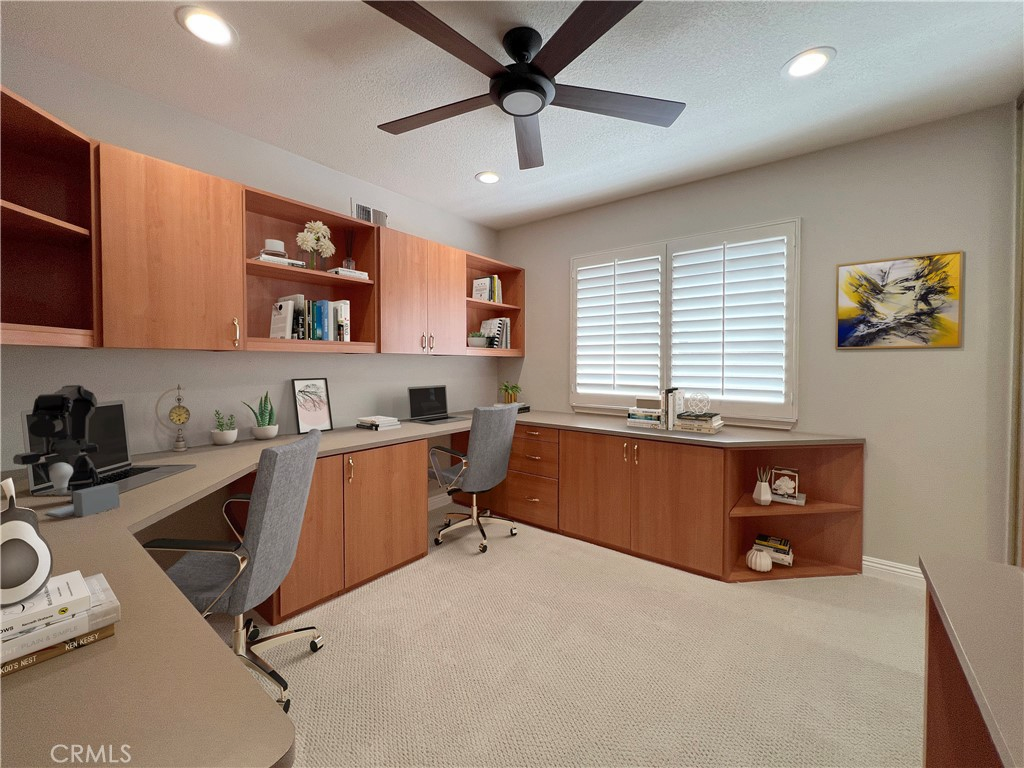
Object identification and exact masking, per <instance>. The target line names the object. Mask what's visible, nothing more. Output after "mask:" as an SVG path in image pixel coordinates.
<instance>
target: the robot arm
mask: <svg viewBox="0 0 1024 768" xmlns="http://www.w3.org/2000/svg"><path fill="white" fill-rule="evenodd" d="M97 406H98V400H97V397H96V395H95V394H94V392H93V391H90V390H88V389H86V388H85V387H84V386H83V385H81V384H74V385H73V384H72V385H70V384H69V385H64V386H62V387H61V388H60V389H58V390H57V391H55V392H54V393H46V394H39V395H38V396H37V397H36V398H35V399H34V403H33V407H32V412H31V418H37V419H36V420H34V421H33V422H31V424H30V425H29V427H28V430H29V433H30V434H31V435H32V436H33V437H36V438H41V440H43V443H44V444H43V445H44V448H42V452H40V453H38V452H34V451H30V452H25V453H24V452H22V453H17V454H15V455H14V456H13V458H12V459H13V460H12V461H13V464H14V465H22V466H26V465H31V466H33V467H34V468H35V469H36V470H37V471H38V473H39V474H40V476H42V478H43V479H44V481H45V482H46V483H49V482H50V477H49V472H48V468H49V463H50V462H49V461H46V459H49V458H55V457H60V458H68V459H67V461H64V462H63V463H68V464H70V465H71V466H72V468H73V473H72V475H71V477H70V478H69V481H68V486H67V488H68V487H70V498H71V499H68V500H66V503H70V504H73V491H78V490H82V489H86V488H91V487H94V484H96V483H99V482H100V476H99V473H98V470H97V469H96V468H95V465H94V462H93V461H92V460H91V459H90V458H89V454H92V453H97V452H100V451H99V449H100V448H99V445H97V444H96V443H93V442H89V428H90V427H89V426H90V425H89V424H90V422H89V420H90V418H91V417H92V416H93V415H94V413H95V412H96V407H97ZM68 416H69V417H70V419H71V422H70V423H71V424H70V426H71V427H70V429H69V419H68V418H69V417H68ZM69 430H70V431H69Z"/></svg>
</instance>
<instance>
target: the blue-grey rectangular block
mask: <svg viewBox="0 0 1024 768" xmlns="http://www.w3.org/2000/svg"><path fill="white" fill-rule="evenodd" d="M119 491H120V490H119V484H117V483H111V482H110V483H104V484H100V485H95V486H93V487H91V488H86V489H82V490H78V491H73V503H72V505H74V514H73V515H74V516H77V517H82V518H84V517H87V516H92V515H95V514H98V513H102V512H105V511H110V510H114V509H117V508H119V507H121V506H120V492H119Z"/></svg>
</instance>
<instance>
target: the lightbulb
mask: <svg viewBox="0 0 1024 768" xmlns="http://www.w3.org/2000/svg"><path fill="white" fill-rule="evenodd" d="M48 472H49V477H50V479H49V481H51V483H52V485H53V488H54V491H55V494H56V495H57V496H64V495H65V494H67V492H68V487H69V486H68V481H69V478H70V477H71V475H72V473H73V468H72V466H71V465H70V464H68V463H64V462H62V461H61V462H55V463H53V464H51V465H50V466H48ZM67 486H68V487H67Z"/></svg>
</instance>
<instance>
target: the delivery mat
mask: <svg viewBox="0 0 1024 768" xmlns="http://www.w3.org/2000/svg"><path fill="white" fill-rule="evenodd" d="M45 514H46V515H49V516H52V517H53V516H54V517H59V518H65V517H67V516H71V515H74V505H73V504H72V505H69V506H65V507H61V508H56V509H53V510H52V509H51V510H49V511H46V512H45Z"/></svg>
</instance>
